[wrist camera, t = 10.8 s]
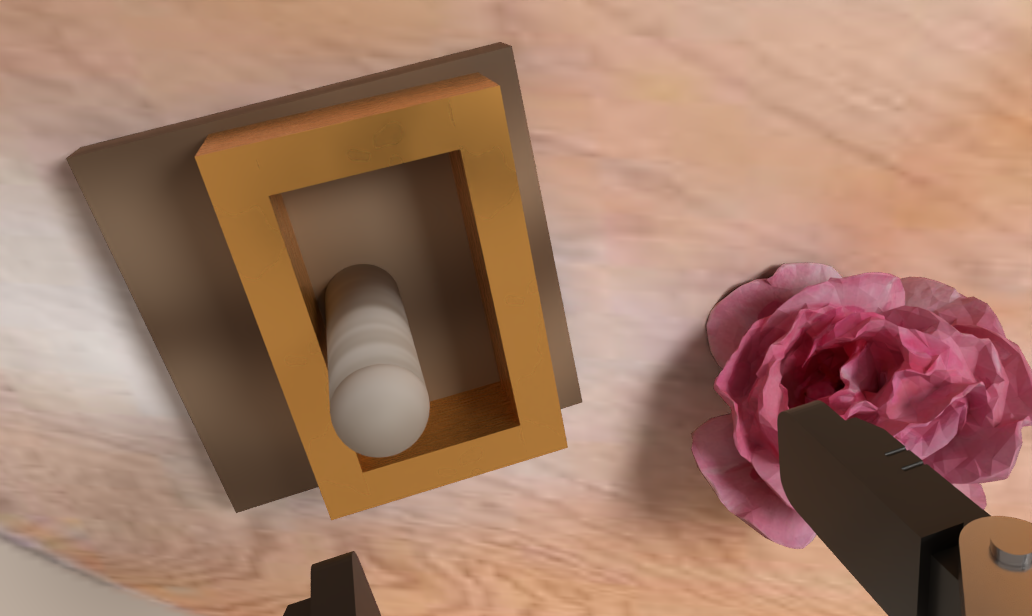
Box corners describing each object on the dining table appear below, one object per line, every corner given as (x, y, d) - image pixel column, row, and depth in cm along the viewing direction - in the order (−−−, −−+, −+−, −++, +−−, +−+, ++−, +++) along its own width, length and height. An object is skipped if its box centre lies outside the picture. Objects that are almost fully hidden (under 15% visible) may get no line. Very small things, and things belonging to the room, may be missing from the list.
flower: (640, 291, 33) (797, 217, 24) (824, 292, 36) (1023, 228, 27) (669, 566, 31) (855, 602, 22) (863, 540, 34) (1094, 562, 25)
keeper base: (80, 147, 22) (-62, 256, 14) (500, 41, 24) (606, 81, 16) (239, 487, 28) (208, 714, 20) (570, 383, 30) (675, 549, 21)
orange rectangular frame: (208, 134, 22) (194, 156, 19) (477, 71, 23) (499, 85, 20) (329, 465, 27) (331, 520, 24) (543, 402, 28) (567, 447, 26)
